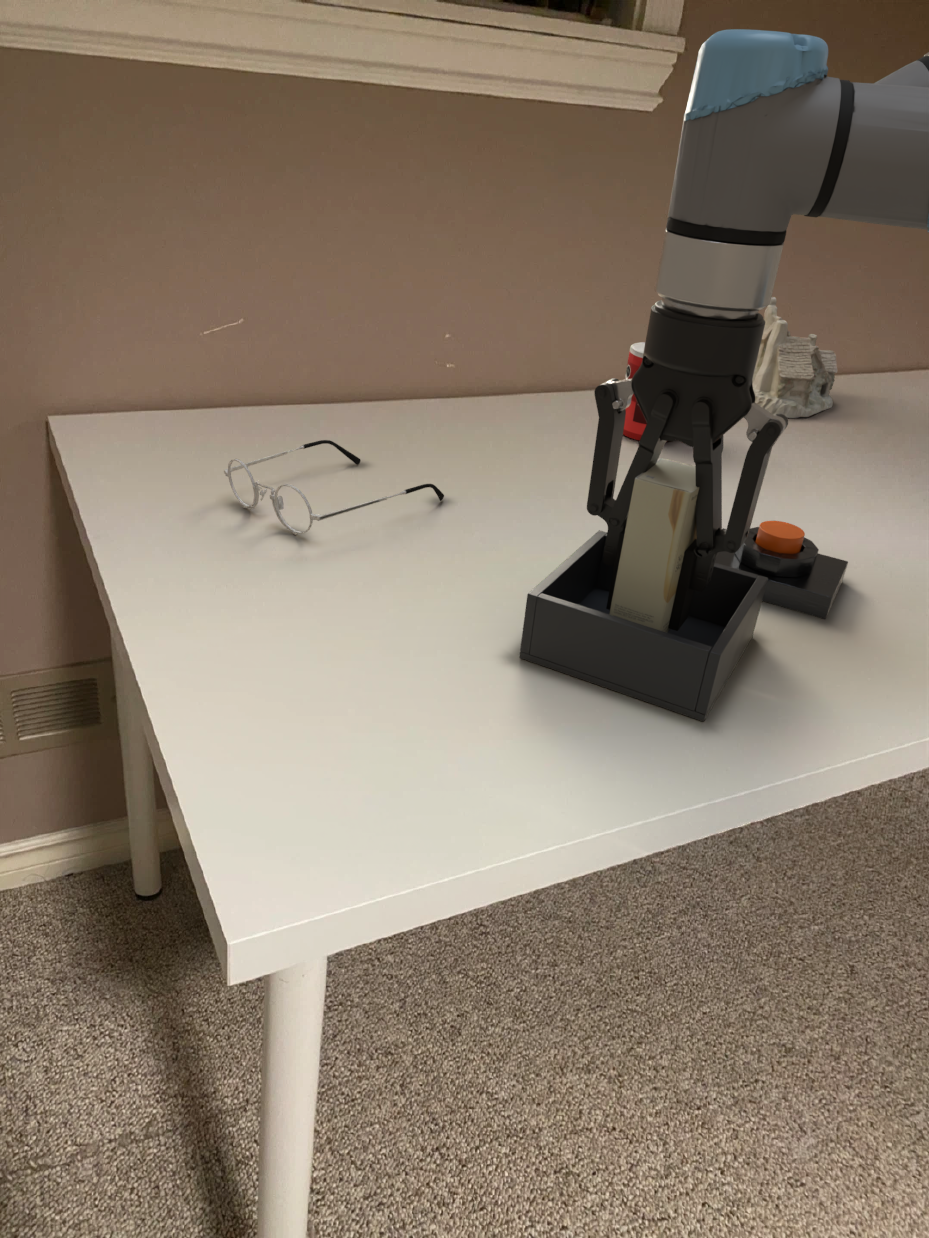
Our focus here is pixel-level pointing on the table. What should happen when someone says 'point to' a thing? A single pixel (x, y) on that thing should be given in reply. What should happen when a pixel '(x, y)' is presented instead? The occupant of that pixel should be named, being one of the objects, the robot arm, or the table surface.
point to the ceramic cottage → (791, 371)
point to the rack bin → (641, 634)
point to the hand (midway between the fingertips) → (647, 612)
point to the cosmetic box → (655, 543)
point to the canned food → (634, 415)
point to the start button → (780, 537)
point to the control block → (791, 574)
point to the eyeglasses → (278, 500)
